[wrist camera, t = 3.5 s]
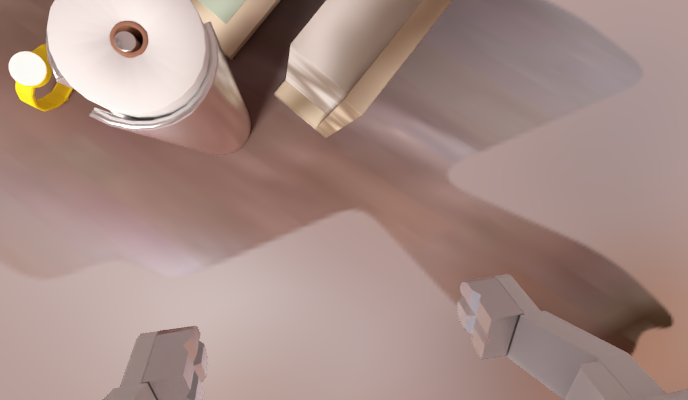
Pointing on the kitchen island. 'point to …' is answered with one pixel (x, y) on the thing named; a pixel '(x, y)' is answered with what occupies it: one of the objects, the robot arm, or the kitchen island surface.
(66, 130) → the kitchen island surface
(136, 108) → the white tall cylinder
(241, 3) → the dock pad
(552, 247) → the kitchen island surface
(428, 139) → the kitchen island surface
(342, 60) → the mounted unit
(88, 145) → the kitchen island surface
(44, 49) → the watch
